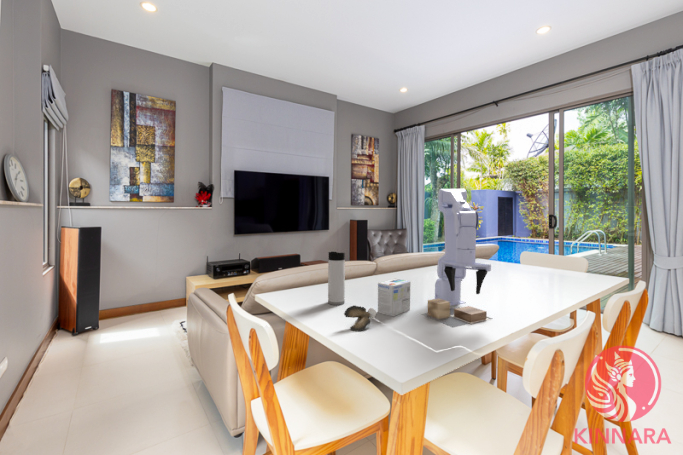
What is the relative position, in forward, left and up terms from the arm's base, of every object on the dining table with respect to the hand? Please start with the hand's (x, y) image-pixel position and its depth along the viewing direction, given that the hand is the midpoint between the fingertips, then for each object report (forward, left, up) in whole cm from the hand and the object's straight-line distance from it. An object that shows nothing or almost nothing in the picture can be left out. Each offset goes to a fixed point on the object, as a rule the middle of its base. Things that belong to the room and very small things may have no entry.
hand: (465, 291), depth 102 cm
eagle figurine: (-12, -31, -10) cm, 35 cm away
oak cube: (-7, -4, -9) cm, 13 cm away
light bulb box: (-18, -14, -10) cm, 25 cm away
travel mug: (-37, -27, -10) cm, 47 cm away
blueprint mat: (-4, +1, -10) cm, 11 cm away
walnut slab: (-1, +4, -9) cm, 10 cm away
